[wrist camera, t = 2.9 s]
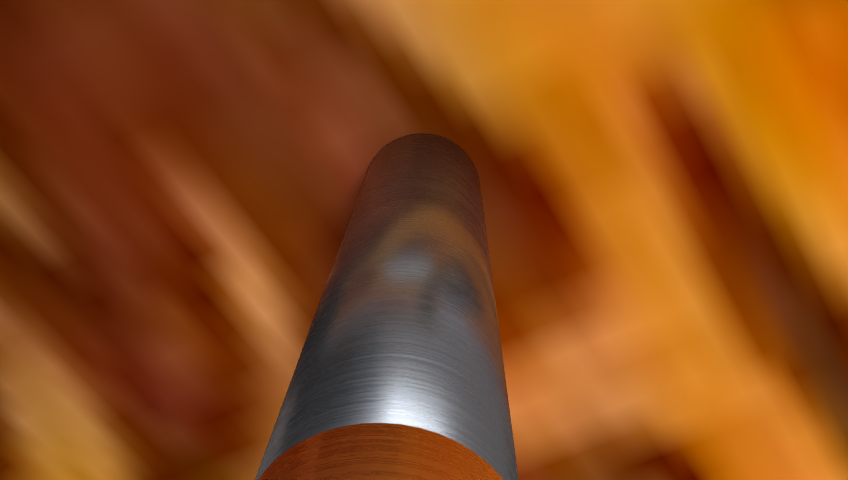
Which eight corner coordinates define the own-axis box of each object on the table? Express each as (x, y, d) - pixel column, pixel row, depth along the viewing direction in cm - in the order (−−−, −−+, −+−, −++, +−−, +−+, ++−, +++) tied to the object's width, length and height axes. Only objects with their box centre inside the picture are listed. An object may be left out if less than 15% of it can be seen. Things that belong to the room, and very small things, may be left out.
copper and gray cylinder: (358, 236, 21) (135, 953, 6) (371, 125, 20) (139, 661, 5) (470, 251, 21) (522, 1000, 6) (488, 141, 20) (607, 720, 5)
